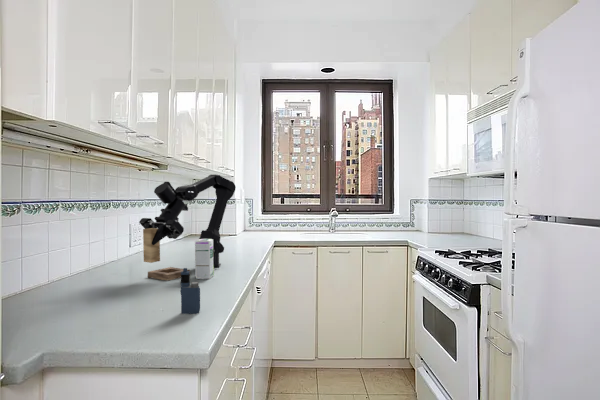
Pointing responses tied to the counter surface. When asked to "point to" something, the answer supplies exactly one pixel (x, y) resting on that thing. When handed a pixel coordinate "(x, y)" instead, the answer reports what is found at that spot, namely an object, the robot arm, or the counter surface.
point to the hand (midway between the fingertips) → (148, 243)
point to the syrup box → (204, 259)
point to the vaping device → (189, 294)
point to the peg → (150, 246)
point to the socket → (166, 273)
